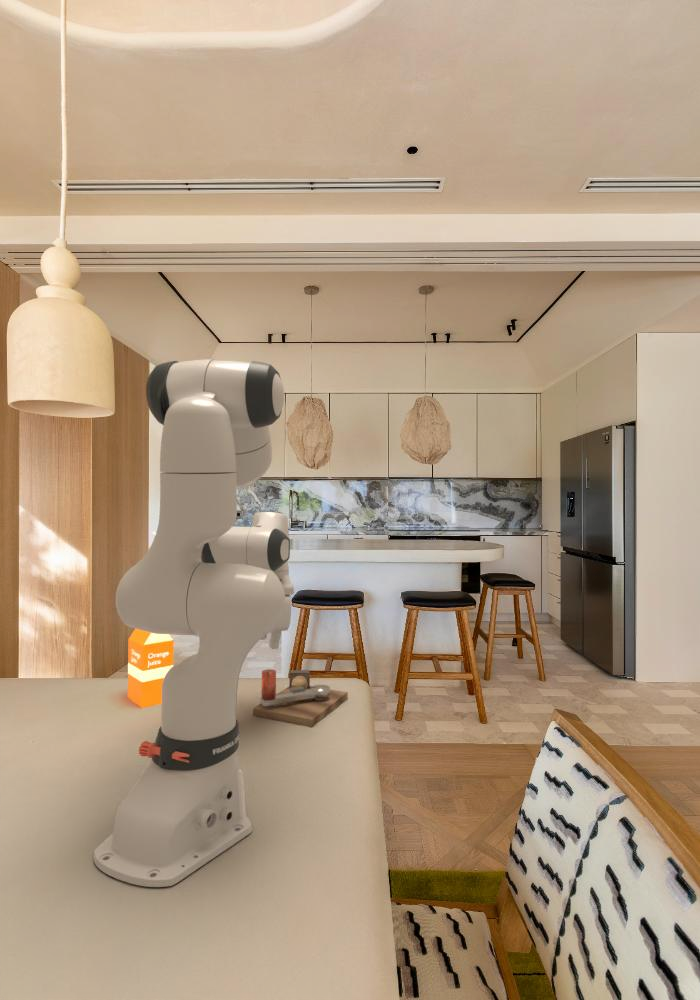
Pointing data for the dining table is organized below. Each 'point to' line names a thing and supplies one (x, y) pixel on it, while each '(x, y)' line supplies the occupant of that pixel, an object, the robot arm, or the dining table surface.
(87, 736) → the dining table surface
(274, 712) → the board
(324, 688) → the lever
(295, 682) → the wooden ball
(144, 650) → the orange juice
